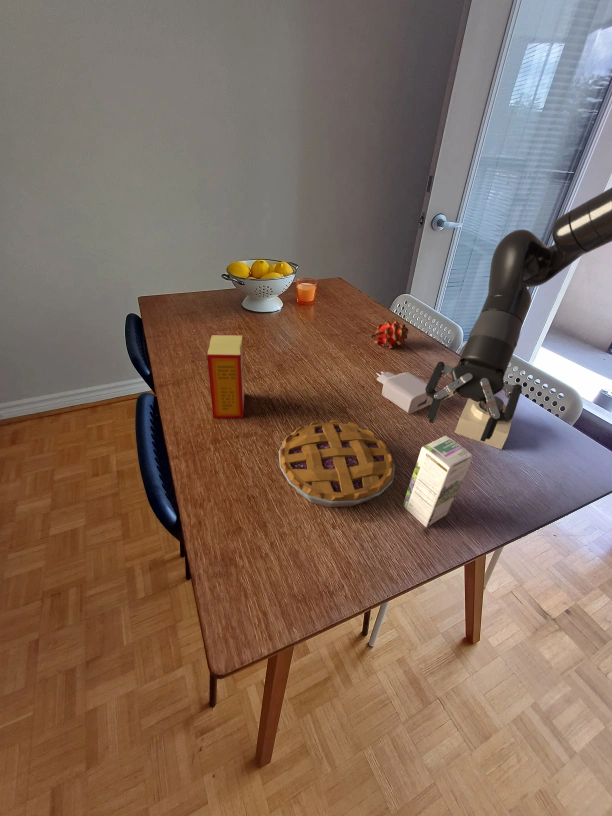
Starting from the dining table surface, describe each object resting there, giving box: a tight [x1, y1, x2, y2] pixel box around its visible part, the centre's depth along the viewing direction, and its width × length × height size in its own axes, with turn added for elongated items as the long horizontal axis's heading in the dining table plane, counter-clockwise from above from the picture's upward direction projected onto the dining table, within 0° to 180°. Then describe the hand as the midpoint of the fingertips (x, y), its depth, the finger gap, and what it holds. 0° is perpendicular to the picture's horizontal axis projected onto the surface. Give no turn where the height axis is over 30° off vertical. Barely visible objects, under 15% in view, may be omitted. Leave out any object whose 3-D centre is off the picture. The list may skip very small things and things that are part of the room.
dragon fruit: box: [371, 319, 409, 350], centre depth 120 cm, size 8×8×12 cm
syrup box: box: [402, 435, 474, 528], centre depth 66 cm, size 6×6×14 cm
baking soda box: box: [206, 334, 245, 419], centre depth 87 cm, size 10×6×16 cm
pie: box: [278, 419, 396, 508], centre depth 75 cm, size 22×22×5 cm
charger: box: [375, 370, 438, 415], centre depth 99 cm, size 5×9×15 cm
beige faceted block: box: [454, 398, 514, 450], centre depth 89 cm, size 10×11×6 cm
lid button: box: [480, 395, 505, 412], centre depth 87 cm, size 4×4×2 cm
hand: (456, 431), depth 66 cm, fingers open, 8 cm apart
